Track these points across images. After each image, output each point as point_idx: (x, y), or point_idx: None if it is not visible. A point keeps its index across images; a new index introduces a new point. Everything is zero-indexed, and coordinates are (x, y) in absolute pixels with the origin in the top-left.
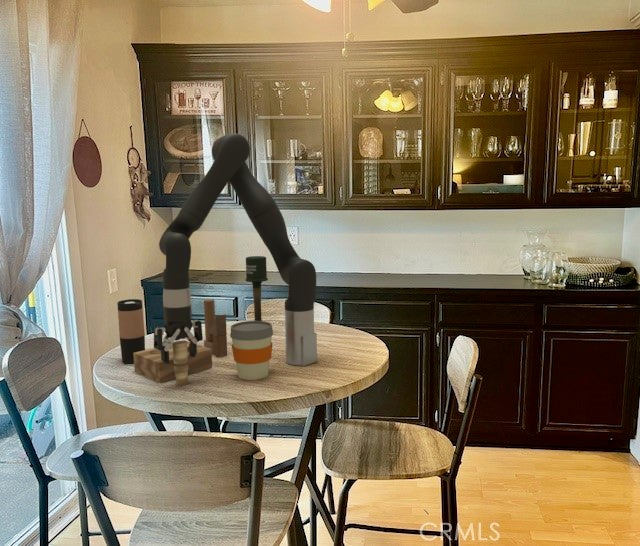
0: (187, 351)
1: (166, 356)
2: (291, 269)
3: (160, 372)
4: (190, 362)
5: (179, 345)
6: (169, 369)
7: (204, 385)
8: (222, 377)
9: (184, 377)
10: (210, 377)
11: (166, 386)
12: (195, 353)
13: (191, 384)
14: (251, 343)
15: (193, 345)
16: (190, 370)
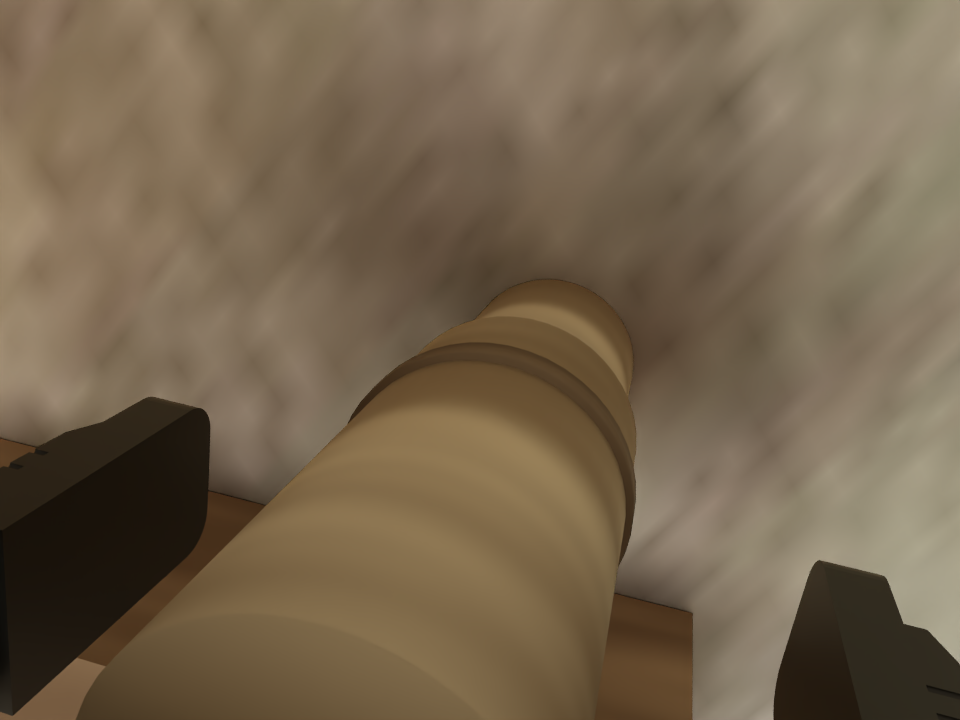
0: (282, 490)
1: (922, 696)
2: None
3: (677, 706)
4: (172, 584)
5: (482, 690)
6: None
7: (435, 10)
8: (90, 38)
9: (555, 309)
10: (188, 189)
11: (743, 462)
12: (120, 412)
13: (508, 214)
14: None
15: (6, 521)
16: (239, 527)
